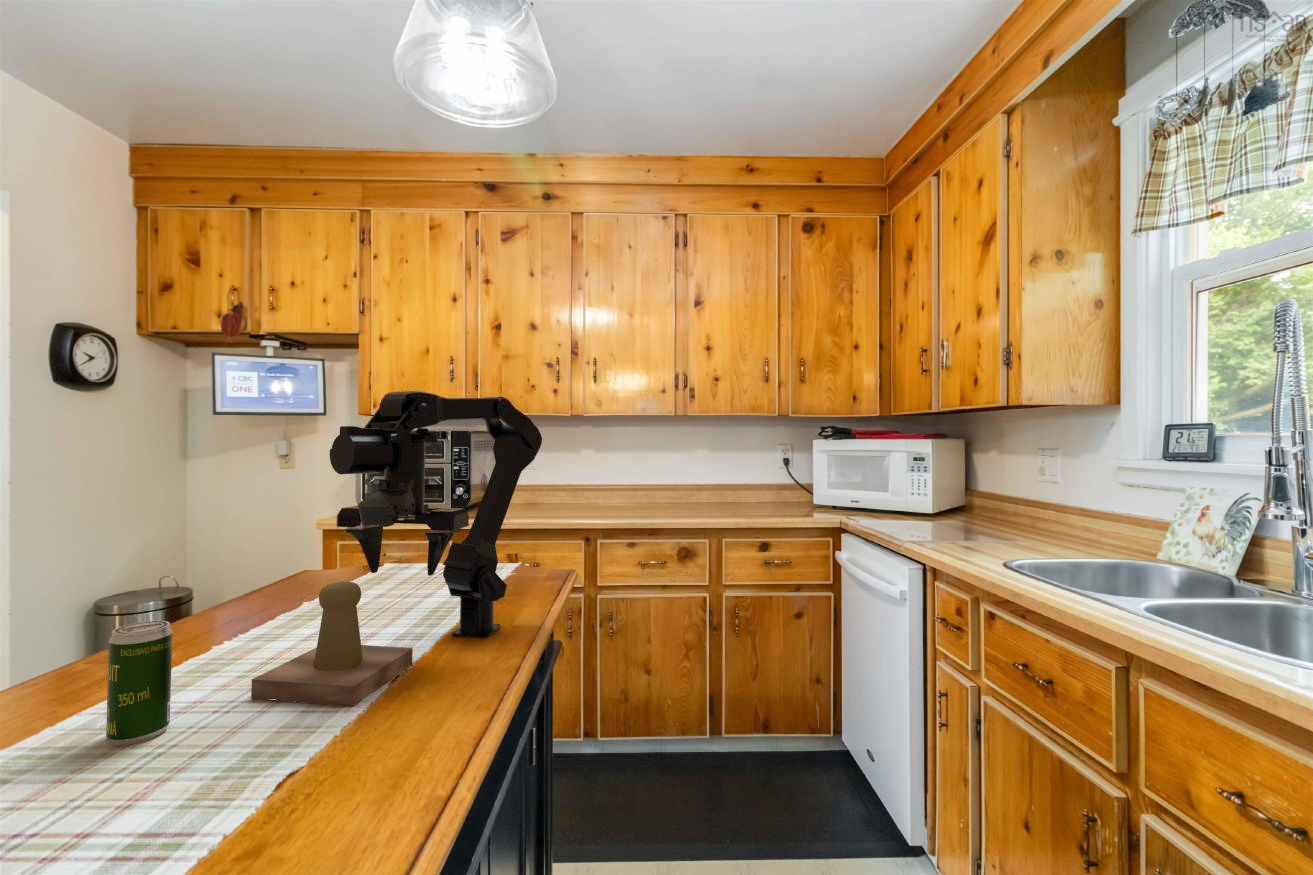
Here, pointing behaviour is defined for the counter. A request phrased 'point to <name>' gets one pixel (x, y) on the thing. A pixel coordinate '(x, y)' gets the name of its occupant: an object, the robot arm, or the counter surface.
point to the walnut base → (332, 677)
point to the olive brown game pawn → (339, 627)
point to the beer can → (139, 682)
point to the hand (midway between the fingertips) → (402, 573)
